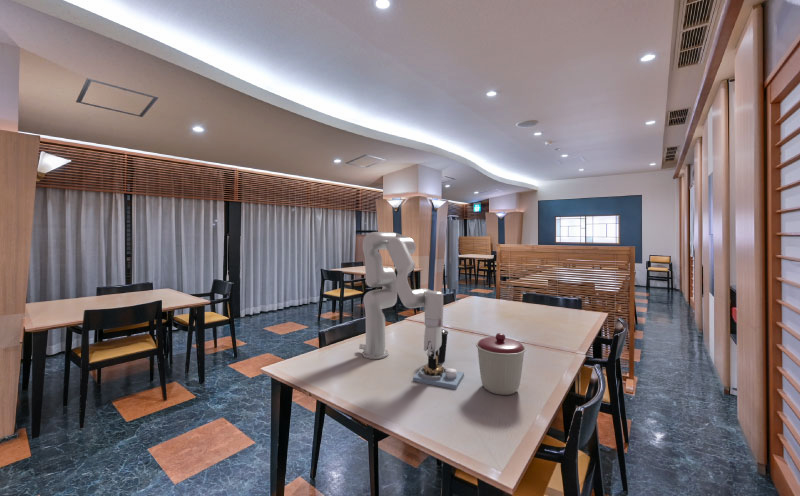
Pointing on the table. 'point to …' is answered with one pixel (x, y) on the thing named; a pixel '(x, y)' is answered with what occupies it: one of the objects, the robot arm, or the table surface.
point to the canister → (500, 363)
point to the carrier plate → (440, 378)
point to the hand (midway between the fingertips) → (433, 366)
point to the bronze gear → (435, 372)
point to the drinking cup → (443, 346)
